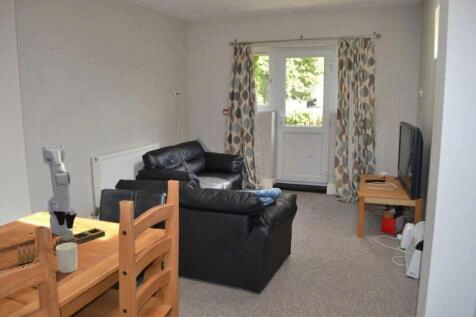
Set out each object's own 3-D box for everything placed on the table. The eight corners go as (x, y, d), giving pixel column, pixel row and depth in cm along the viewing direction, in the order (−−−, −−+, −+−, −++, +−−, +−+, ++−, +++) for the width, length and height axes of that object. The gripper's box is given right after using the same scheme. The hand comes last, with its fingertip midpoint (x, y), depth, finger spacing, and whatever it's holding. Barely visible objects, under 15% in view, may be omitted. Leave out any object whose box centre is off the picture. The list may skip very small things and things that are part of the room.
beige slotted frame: (55, 244, 190) (55, 239, 190) (96, 231, 206) (95, 227, 206) (64, 248, 185) (64, 243, 185) (105, 235, 201) (104, 231, 201)
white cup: (61, 265, 168) (59, 242, 166) (81, 264, 168) (79, 242, 166) (54, 274, 160) (52, 250, 158) (75, 273, 160) (73, 249, 159)
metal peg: (61, 244, 190) (60, 232, 189) (69, 241, 193) (68, 229, 192) (65, 246, 188) (64, 234, 187) (73, 243, 191) (72, 231, 190)
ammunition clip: (19, 276, 158) (15, 247, 156) (19, 274, 160) (16, 245, 158) (49, 270, 163) (46, 242, 161) (48, 269, 165) (46, 241, 162)
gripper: (47, 197, 188) (49, 225, 190) (63, 203, 179) (65, 232, 181) (62, 194, 193) (64, 221, 196) (78, 199, 184) (80, 228, 187)
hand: (65, 226), depth 189 cm, fingers open, 7 cm apart
